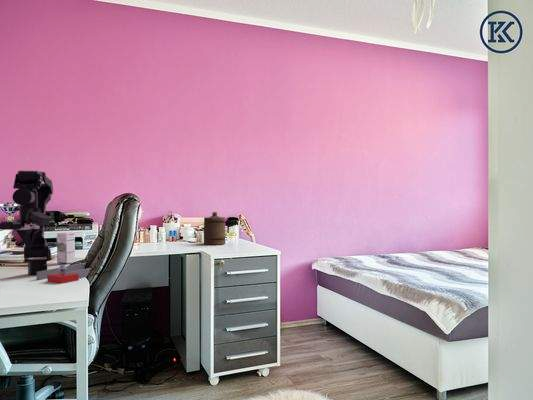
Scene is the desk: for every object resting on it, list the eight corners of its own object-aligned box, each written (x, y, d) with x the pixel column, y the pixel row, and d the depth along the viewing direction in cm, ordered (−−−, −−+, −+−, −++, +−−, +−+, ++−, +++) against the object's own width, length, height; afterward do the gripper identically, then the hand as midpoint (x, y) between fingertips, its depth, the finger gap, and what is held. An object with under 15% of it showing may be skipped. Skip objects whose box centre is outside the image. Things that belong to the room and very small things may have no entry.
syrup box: (75, 261, 197) (75, 231, 197) (66, 263, 191) (66, 232, 191) (65, 261, 199) (65, 231, 199) (56, 263, 193) (56, 232, 193)
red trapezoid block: (78, 281, 149) (78, 264, 149) (61, 284, 143) (61, 266, 143) (64, 279, 153) (64, 262, 153) (47, 282, 147) (47, 265, 147)
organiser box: (36, 279, 150) (36, 271, 150) (86, 269, 174) (86, 262, 174) (64, 282, 146) (64, 273, 146) (111, 270, 170) (111, 263, 170)
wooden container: (229, 243, 285) (229, 211, 285) (218, 245, 272) (217, 212, 272) (211, 242, 291) (211, 211, 291) (199, 244, 278) (199, 212, 278)
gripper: (22, 205, 136) (22, 252, 136) (66, 205, 154) (66, 246, 154) (-2, 205, 140) (-2, 250, 140) (43, 205, 158) (43, 245, 157)
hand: (28, 248), depth 148 cm, fingers closed
